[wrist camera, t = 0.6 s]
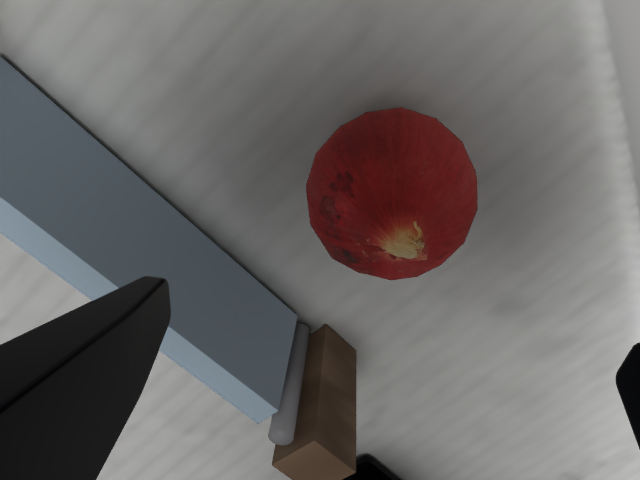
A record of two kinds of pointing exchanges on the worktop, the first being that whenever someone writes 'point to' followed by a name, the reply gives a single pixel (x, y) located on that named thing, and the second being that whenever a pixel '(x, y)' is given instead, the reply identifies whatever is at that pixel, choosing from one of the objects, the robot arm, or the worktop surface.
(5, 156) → the door
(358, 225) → the onion
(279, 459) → the door frame
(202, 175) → the worktop surface
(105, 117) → the worktop surface
